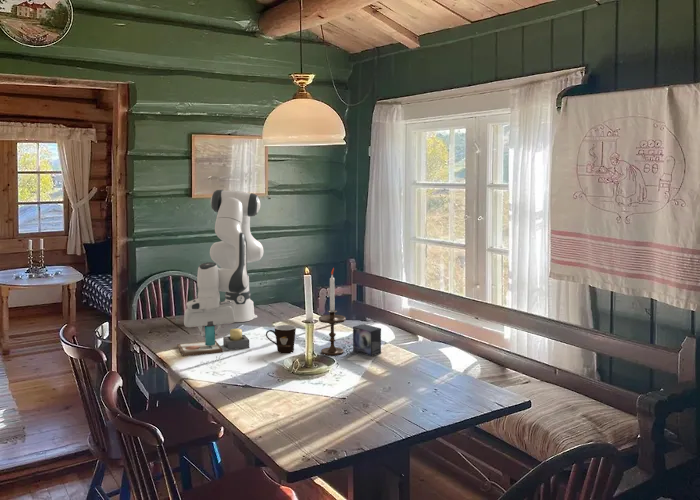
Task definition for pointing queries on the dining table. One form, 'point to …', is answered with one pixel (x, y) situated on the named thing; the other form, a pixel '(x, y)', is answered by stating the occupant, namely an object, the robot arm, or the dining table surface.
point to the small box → (367, 339)
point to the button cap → (236, 334)
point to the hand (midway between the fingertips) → (209, 335)
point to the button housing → (236, 343)
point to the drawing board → (198, 348)
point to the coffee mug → (284, 338)
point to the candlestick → (332, 322)
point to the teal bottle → (210, 334)
